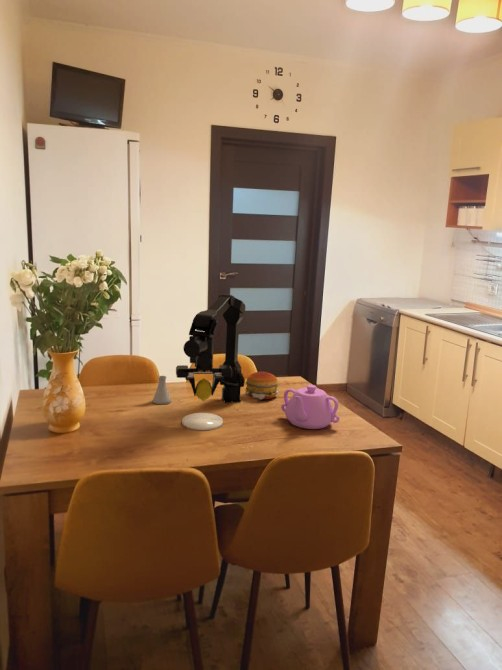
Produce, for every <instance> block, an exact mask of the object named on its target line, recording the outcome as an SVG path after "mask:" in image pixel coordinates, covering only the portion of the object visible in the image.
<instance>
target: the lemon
mask: <svg viewBox="0 0 502 670" xmlns="http://www.w3.org/2000/svg"><path fill="white" fill-rule="evenodd" d="M195 389H196V397H197V398H198V399H199V400H201V401H202V402H205V401H206V400H208V399H209V398H210V397H211V396H212V395H211V392H212V383H211V382H210V380H207V379H206V378H202V379H200V380H198V382H197V383H196V384H195Z"/></svg>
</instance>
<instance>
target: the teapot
mask: <svg viewBox="0 0 502 670" xmlns="http://www.w3.org/2000/svg"><path fill="white" fill-rule="evenodd" d="M289 392H291V393H293V394H292V396H291V397H290V399H289V397H288V396H289V395H288V394H289ZM283 400H284V403H283V404H281V405H280V408H281V409H280V410H282V411H283V412H284V415H285V418H286V419H287V420H288V421H289V423H290V424H292V425H293V426H295V427H298V428H303V429H306V430H309V429H310V430H318V429H325V428H327V427H328V426H329V425H330V424H332V423H333V424H337V423H339V422H340V420H341V419H340V416H339V415H338V414H337V412H338V409H339V400H338V399H337V398H336V397H335V396H332V395H328V394H327V392H326V391H325V390H323V389H320V388H317V385H315V384H307V385H306V387H300V388H298V389H295V388H287V389H286V390H285V391H284V393H283ZM332 401H333V403H334V407H333V404H332Z"/></svg>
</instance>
